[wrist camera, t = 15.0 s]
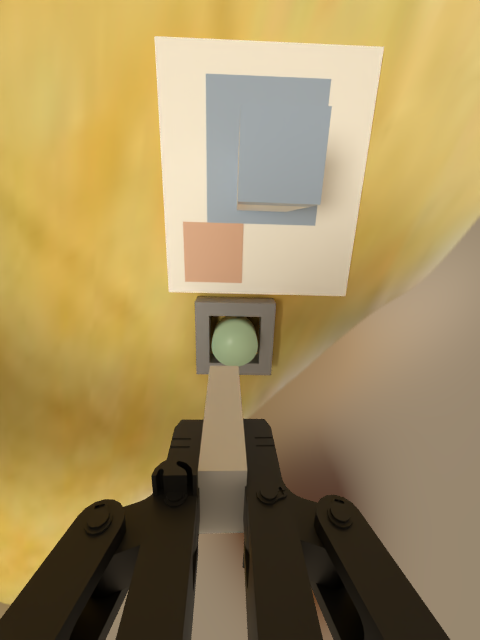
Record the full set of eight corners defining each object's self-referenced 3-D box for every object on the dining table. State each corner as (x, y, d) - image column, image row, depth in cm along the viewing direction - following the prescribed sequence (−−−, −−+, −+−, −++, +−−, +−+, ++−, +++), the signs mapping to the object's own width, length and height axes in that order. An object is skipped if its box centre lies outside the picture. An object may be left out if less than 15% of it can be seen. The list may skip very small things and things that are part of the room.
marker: (236, 210, 23) (237, 201, 13) (238, 154, 22) (240, 101, 12) (285, 212, 23) (320, 204, 14) (289, 156, 22) (331, 106, 12)
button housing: (199, 363, 28) (196, 374, 26) (197, 296, 26) (194, 302, 24) (268, 365, 28) (270, 375, 27) (273, 298, 26) (276, 304, 24)
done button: (213, 353, 27) (211, 366, 25) (213, 314, 26) (211, 323, 23) (254, 354, 27) (256, 367, 25) (256, 315, 26) (259, 324, 24)
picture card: (170, 290, 26) (168, 292, 25) (156, 41, 20) (154, 35, 19) (342, 294, 26) (345, 296, 25) (379, 51, 20) (384, 46, 20)
